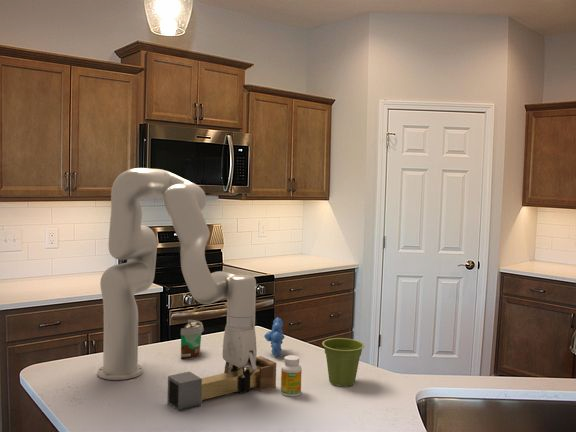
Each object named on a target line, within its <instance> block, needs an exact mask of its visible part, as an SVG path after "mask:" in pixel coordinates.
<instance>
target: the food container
mask: <svg viewBox="0 0 576 432" xmlns="http://www.w3.org/2000/svg"><path fill="white" fill-rule="evenodd" d="M204 331H205V330H204V325H203V322H201V321H199V320H194V319H187V324H185V325H184V326H183V328H180V359H181V360H189V359H190V358H191V359H195V358H198V357H199V356H200V355H199V354H200V353H201V342H202V333H203V332H204ZM197 356H198V357H197Z"/></svg>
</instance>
